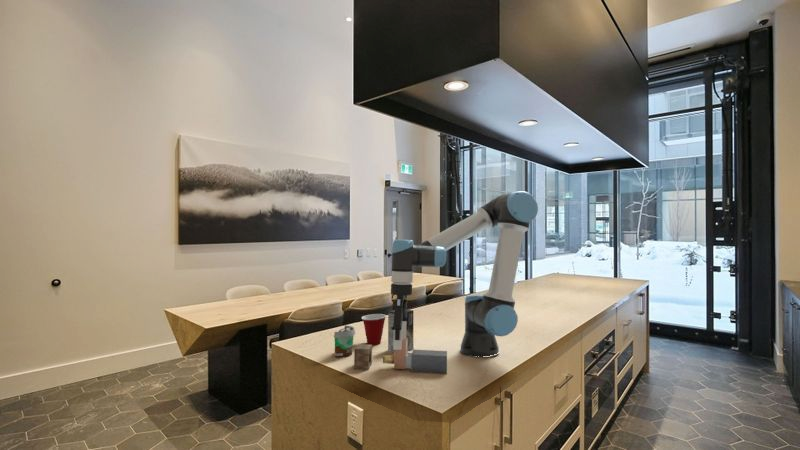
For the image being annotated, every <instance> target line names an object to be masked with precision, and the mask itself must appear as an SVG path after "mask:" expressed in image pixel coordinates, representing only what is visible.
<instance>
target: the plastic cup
mask: <svg viewBox="0 0 800 450" xmlns="http://www.w3.org/2000/svg"><path fill="white" fill-rule="evenodd" d="M386 317H387V314H383V313H372V314H367V315H362V316H361V319H362V322H363V326H364V327H363V328H364V332H365V338H366V343H367V345H372V346H377V345H381V343H382V337H383V332H384V326H385V320H386Z"/></svg>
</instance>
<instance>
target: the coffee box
mask: <svg viewBox="0 0 800 450" xmlns="http://www.w3.org/2000/svg"><path fill="white" fill-rule="evenodd" d="M394 312H395V309H392V310H388V312H387V313H388V314H387V315H388V317H387V318H388V319H387V323H388V324H387V325H388V326H387V331H388V332H387V333H388V334H387V350H388V351H389V352H392V353H394V349H393V338H394V330H392V327H393V323H394ZM407 318H409V320H408V321H407V323H406V338H408V346H407V352H408V351H411V350H412V351H413V350H414V310H411V309H408V308H407ZM397 326H398V325H397Z"/></svg>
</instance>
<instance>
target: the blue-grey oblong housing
mask: <svg viewBox="0 0 800 450" xmlns="http://www.w3.org/2000/svg"><path fill="white" fill-rule="evenodd" d="M411 353H412V358H411V368H410V369H411V370H410V371H411V373H419V374H436V375H437V374H438V375H447V374H448V350H434V349H433V350H432V349H431V350H430V349H412V352H411Z"/></svg>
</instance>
